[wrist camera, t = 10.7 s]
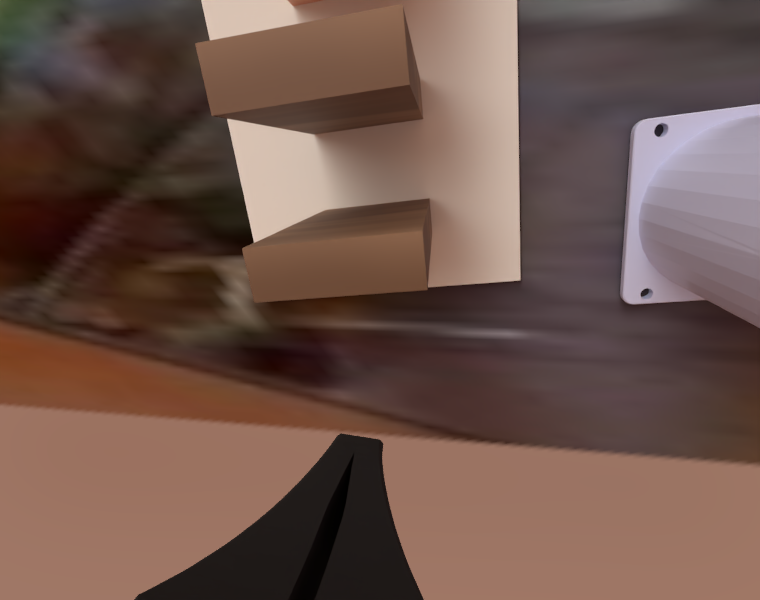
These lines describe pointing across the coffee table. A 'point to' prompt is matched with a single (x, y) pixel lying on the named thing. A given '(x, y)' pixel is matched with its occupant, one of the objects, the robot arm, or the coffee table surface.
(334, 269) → the tile
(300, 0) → the tile
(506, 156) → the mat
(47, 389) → the coffee table surface
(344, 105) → the tile
